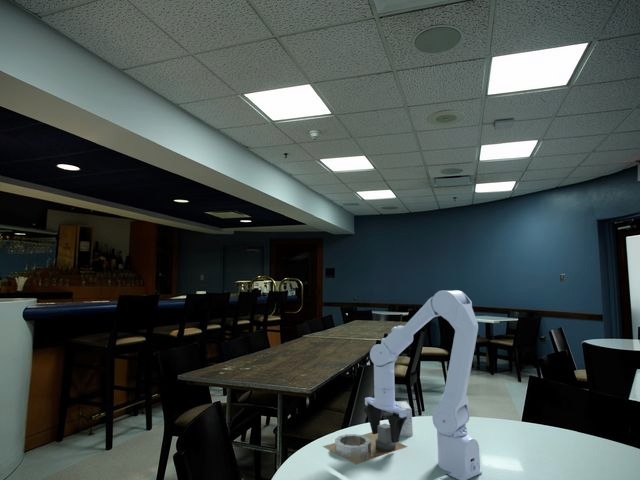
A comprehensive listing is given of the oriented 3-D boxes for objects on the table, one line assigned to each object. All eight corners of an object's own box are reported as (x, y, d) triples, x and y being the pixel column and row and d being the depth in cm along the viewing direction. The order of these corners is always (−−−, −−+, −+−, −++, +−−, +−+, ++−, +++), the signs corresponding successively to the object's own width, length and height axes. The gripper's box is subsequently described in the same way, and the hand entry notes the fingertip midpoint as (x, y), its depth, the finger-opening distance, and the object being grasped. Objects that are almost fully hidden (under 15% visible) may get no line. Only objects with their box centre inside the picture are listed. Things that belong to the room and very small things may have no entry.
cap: (400, 447, 110) (399, 426, 111) (385, 452, 107) (385, 431, 108) (385, 441, 115) (385, 421, 115) (371, 445, 111) (371, 425, 112)
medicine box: (413, 438, 119) (412, 408, 120) (398, 438, 119) (397, 408, 120) (407, 429, 127) (407, 401, 128) (393, 429, 127) (393, 401, 128)
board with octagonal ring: (407, 449, 111) (407, 437, 111) (355, 467, 100) (355, 453, 100) (372, 434, 122) (372, 423, 122) (323, 449, 111) (322, 436, 111)
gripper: (413, 390, 109) (415, 442, 108) (376, 380, 121) (377, 427, 119) (395, 394, 105) (396, 448, 104) (359, 383, 117) (359, 432, 115)
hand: (385, 437), depth 111 cm, fingers open, 7 cm apart
